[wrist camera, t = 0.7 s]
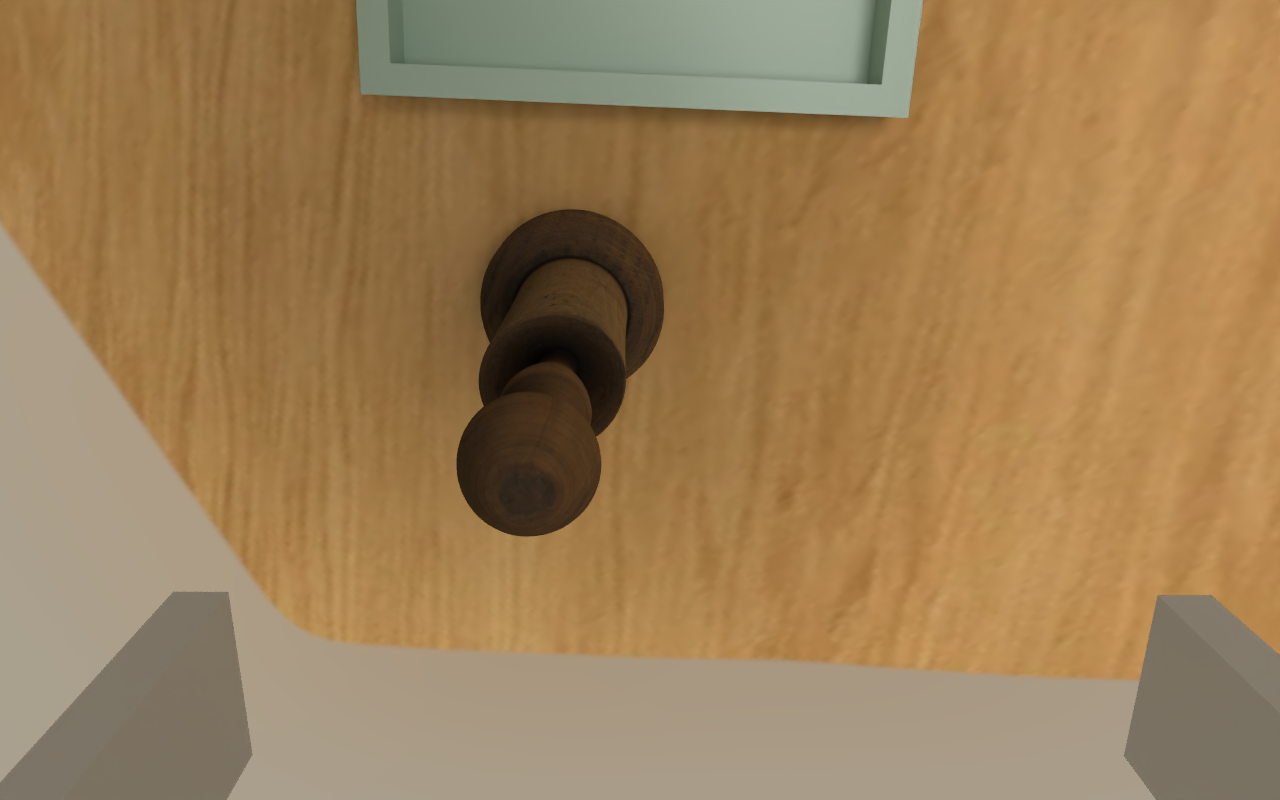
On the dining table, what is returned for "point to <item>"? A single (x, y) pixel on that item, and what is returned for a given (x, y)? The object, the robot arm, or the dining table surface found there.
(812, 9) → the tray
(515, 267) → the wooden pepper mill
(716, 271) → the dining table surface
